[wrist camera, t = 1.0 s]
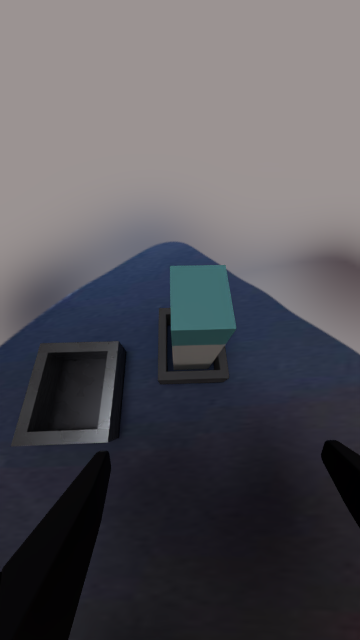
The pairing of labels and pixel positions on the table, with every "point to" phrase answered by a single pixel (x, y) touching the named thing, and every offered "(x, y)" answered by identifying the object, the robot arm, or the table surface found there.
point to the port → (73, 395)
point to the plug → (199, 314)
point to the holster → (183, 377)
